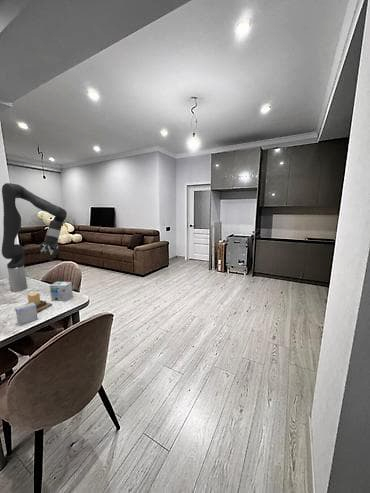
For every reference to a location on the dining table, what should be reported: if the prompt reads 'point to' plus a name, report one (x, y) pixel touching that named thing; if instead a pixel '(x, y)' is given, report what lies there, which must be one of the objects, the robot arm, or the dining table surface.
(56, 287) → the light bulb box
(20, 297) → the dining table surface
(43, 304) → the walnut dock
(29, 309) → the medicine box
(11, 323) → the dining table surface
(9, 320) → the dining table surface
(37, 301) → the ochre post
